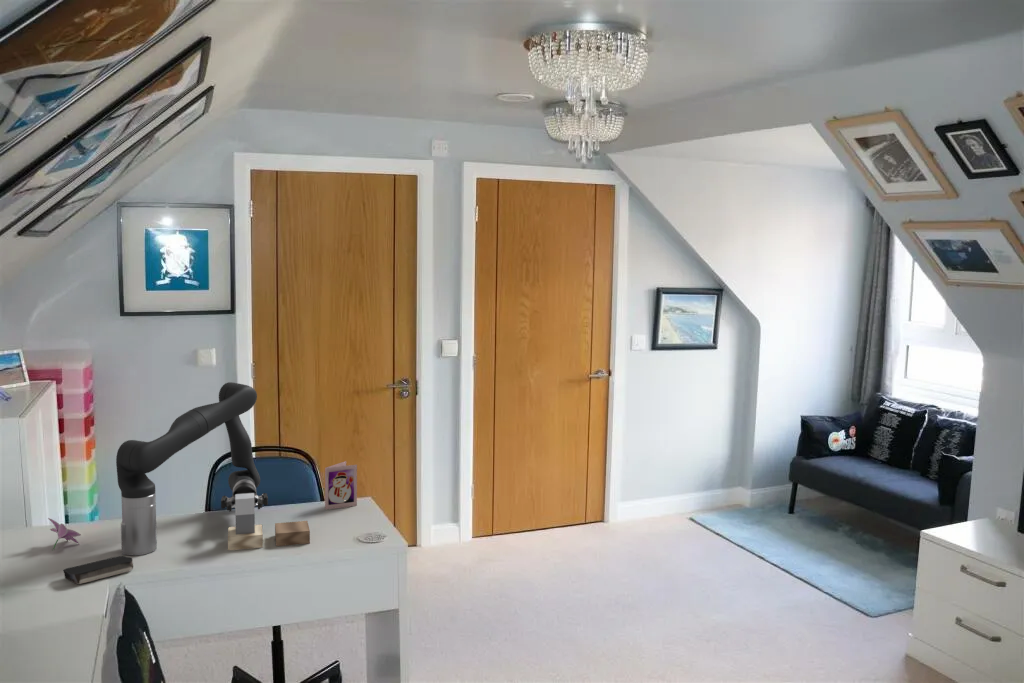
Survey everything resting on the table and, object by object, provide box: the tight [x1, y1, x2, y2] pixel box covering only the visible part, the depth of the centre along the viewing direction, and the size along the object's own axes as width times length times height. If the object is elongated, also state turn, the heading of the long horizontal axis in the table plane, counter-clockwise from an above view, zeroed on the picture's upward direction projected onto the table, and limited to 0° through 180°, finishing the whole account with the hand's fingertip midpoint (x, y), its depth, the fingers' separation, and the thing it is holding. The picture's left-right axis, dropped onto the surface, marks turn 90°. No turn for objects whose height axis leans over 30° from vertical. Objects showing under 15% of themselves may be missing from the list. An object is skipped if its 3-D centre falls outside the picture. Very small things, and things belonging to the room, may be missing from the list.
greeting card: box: [324, 460, 358, 510], centre depth 288 cm, size 11×7×15 cm, turn 118°
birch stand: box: [227, 524, 264, 551], centre depth 248 cm, size 10×10×4 cm
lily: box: [47, 517, 82, 550], centre depth 242 cm, size 11×11×9 cm
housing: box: [234, 493, 256, 535], centre depth 247 cm, size 6×6×11 cm
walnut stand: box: [274, 520, 311, 547], centre depth 253 cm, size 10×10×4 cm
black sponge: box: [62, 555, 134, 585], centre depth 221 cm, size 16×8×4 cm, turn 137°
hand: (244, 507), depth 252 cm, fingers open, 8 cm apart
